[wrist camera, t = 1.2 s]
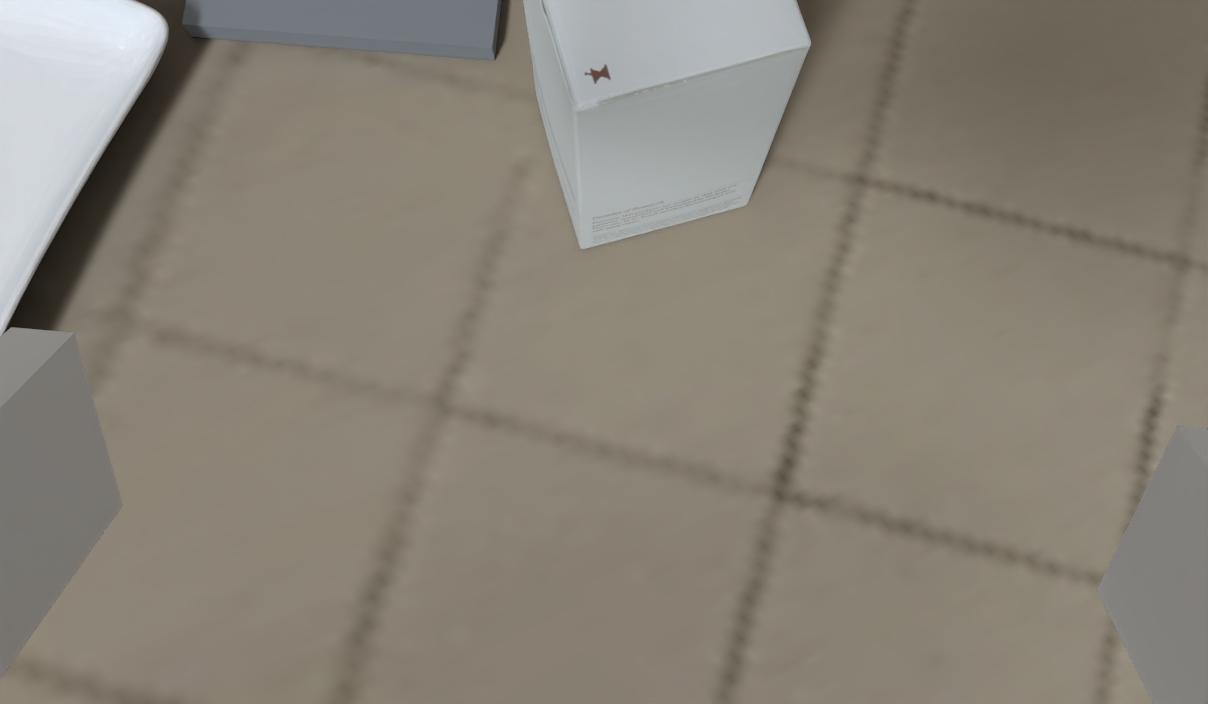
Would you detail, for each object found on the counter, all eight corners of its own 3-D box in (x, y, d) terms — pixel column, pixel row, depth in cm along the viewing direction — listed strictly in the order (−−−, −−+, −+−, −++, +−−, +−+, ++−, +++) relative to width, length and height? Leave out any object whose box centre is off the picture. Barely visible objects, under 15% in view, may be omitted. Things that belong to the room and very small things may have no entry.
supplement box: (752, 208, 39) (820, 51, 27) (577, 253, 39) (566, 114, 27) (701, 50, 41) (744, -169, 28) (533, 91, 40) (502, -112, 28)
